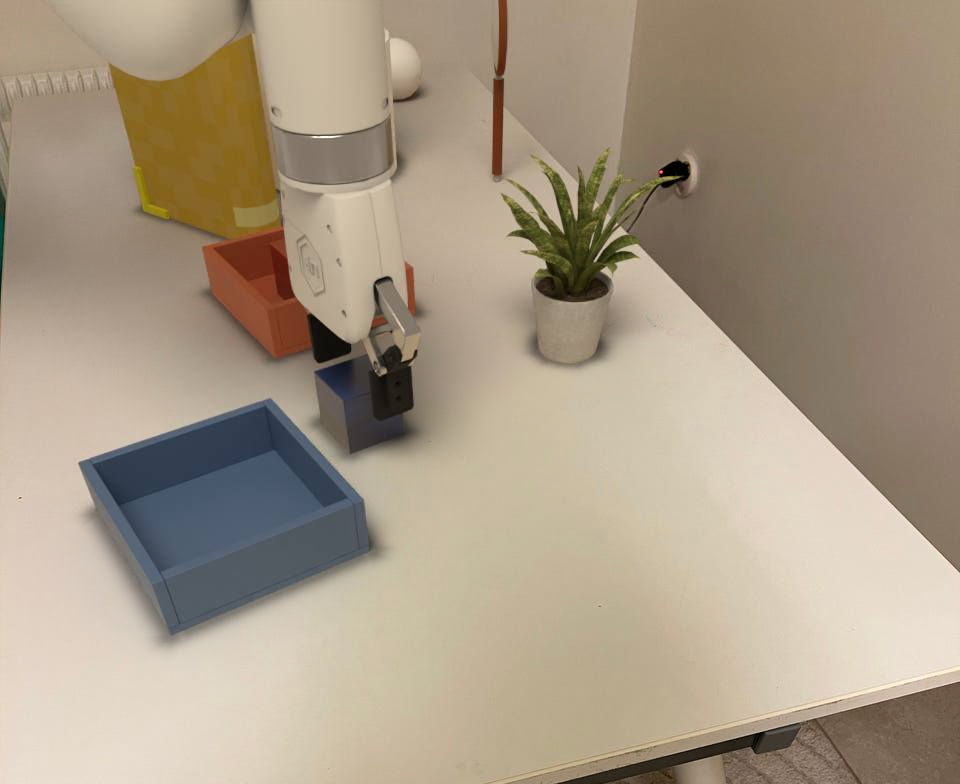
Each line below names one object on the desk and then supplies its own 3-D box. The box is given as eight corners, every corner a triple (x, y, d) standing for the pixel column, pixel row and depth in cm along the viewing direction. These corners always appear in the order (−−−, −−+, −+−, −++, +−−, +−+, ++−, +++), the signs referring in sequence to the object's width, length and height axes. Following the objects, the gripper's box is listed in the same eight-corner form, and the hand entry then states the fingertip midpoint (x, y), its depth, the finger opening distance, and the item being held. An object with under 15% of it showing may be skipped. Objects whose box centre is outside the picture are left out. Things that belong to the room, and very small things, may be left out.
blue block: (350, 456, 71) (343, 401, 67) (321, 425, 74) (313, 371, 70) (405, 435, 73) (401, 381, 69) (374, 406, 76) (369, 352, 72)
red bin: (276, 360, 80) (266, 310, 77) (212, 295, 88) (201, 246, 85) (416, 316, 86) (413, 267, 82) (343, 258, 94) (338, 211, 90)
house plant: (628, 301, 88) (652, 117, 76) (678, 376, 79) (715, 180, 67) (486, 316, 86) (487, 129, 74) (521, 394, 77) (529, 196, 65)
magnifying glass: (506, 197, 105) (512, -11, 90) (492, 197, 105) (495, -10, 90) (501, 168, 111) (505, -31, 96) (487, 168, 110) (489, -31, 96)
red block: (300, 315, 84) (292, 262, 81) (277, 293, 87) (268, 242, 83) (347, 301, 86) (342, 249, 82) (323, 280, 89) (317, 229, 85)
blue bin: (171, 638, 58) (151, 584, 54) (98, 515, 66) (77, 461, 62) (370, 553, 63) (364, 499, 60) (280, 449, 71) (270, 397, 68)
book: (143, 212, 101) (70, -66, 83) (188, 193, 105) (127, -78, 87) (252, 251, 95) (199, -41, 76) (296, 229, 99) (255, -55, 80)
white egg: (423, 90, 130) (421, 30, 125) (422, 107, 125) (420, 46, 120) (354, 90, 130) (349, 30, 124) (350, 108, 125) (345, 46, 119)
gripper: (225, 120, 61) (271, 351, 73) (346, 206, 51) (374, 455, 64) (324, 99, 64) (352, 325, 76) (457, 177, 54) (463, 421, 66)
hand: (362, 384), depth 70 cm, fingers open, 9 cm apart
